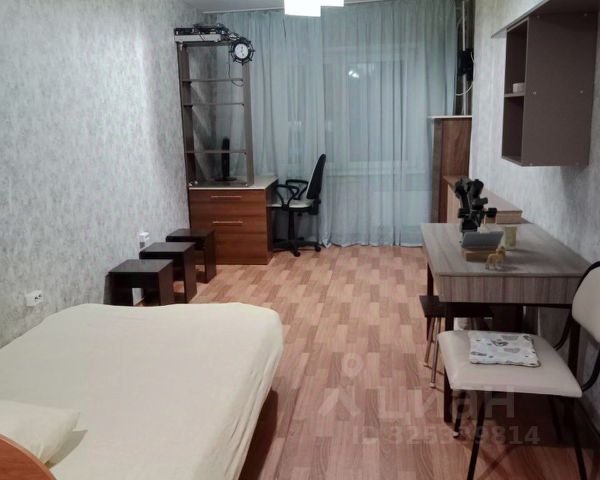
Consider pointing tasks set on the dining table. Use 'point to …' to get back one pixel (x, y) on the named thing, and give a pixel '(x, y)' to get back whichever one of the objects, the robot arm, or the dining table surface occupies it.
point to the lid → (482, 239)
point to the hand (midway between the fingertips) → (479, 226)
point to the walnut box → (477, 253)
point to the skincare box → (509, 237)
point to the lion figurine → (497, 257)
